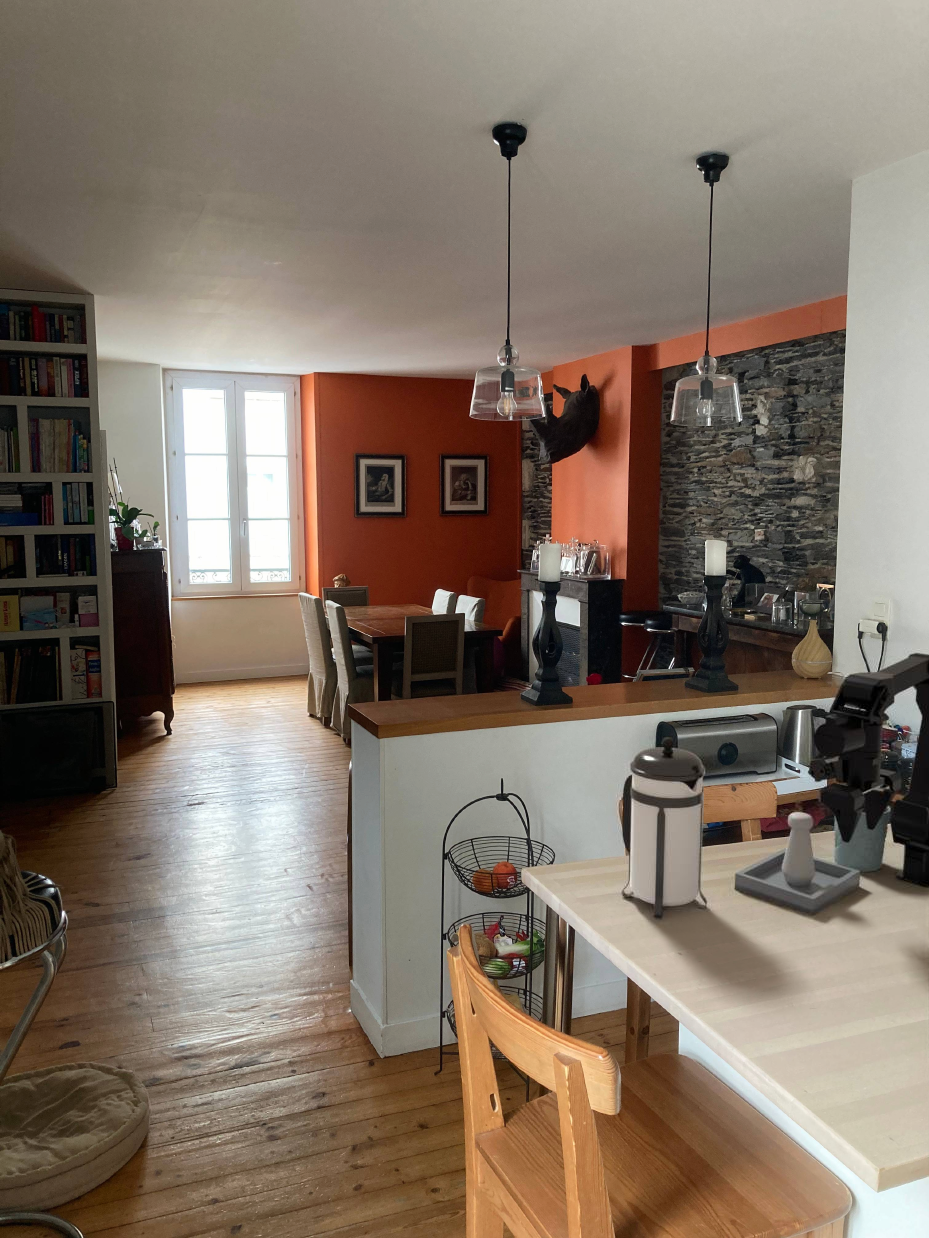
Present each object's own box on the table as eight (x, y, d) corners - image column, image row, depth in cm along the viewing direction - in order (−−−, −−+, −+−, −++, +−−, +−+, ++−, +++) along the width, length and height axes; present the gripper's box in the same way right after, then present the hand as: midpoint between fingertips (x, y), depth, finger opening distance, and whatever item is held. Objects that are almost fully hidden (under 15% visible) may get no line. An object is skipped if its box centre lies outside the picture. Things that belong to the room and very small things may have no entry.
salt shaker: (817, 890, 165) (820, 820, 163) (784, 887, 166) (787, 818, 164) (811, 877, 170) (814, 810, 169) (778, 875, 171) (781, 808, 170)
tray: (783, 863, 180) (784, 848, 179) (859, 886, 169) (860, 870, 168) (734, 888, 168) (735, 873, 167) (812, 915, 157) (813, 899, 156)
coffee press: (714, 890, 167) (720, 730, 163) (698, 926, 153) (703, 752, 149) (622, 874, 174) (625, 721, 171) (598, 907, 160) (600, 741, 156)
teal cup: (825, 852, 185) (828, 795, 184) (878, 854, 184) (881, 797, 183) (839, 871, 176) (842, 811, 174) (894, 874, 174) (898, 814, 173)
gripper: (843, 730, 169) (839, 811, 171) (791, 748, 157) (787, 835, 159) (904, 742, 161) (899, 827, 163) (855, 762, 148) (850, 854, 150)
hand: (858, 835), depth 159 cm, fingers open, 9 cm apart
